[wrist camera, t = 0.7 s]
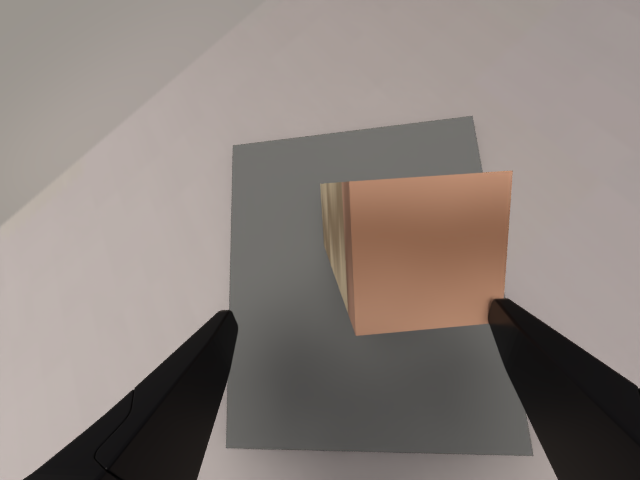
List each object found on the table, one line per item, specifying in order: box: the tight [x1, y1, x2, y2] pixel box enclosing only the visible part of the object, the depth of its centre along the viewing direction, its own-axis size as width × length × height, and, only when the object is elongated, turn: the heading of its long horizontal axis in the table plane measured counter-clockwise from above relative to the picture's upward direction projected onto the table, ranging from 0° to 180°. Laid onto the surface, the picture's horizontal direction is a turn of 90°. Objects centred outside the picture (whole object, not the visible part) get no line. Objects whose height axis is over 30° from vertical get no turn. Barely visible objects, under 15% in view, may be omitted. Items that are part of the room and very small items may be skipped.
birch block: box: [320, 171, 513, 336], centre depth 16 cm, size 5×5×14 cm
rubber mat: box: [226, 116, 533, 456], centre depth 23 cm, size 26×22×1 cm
